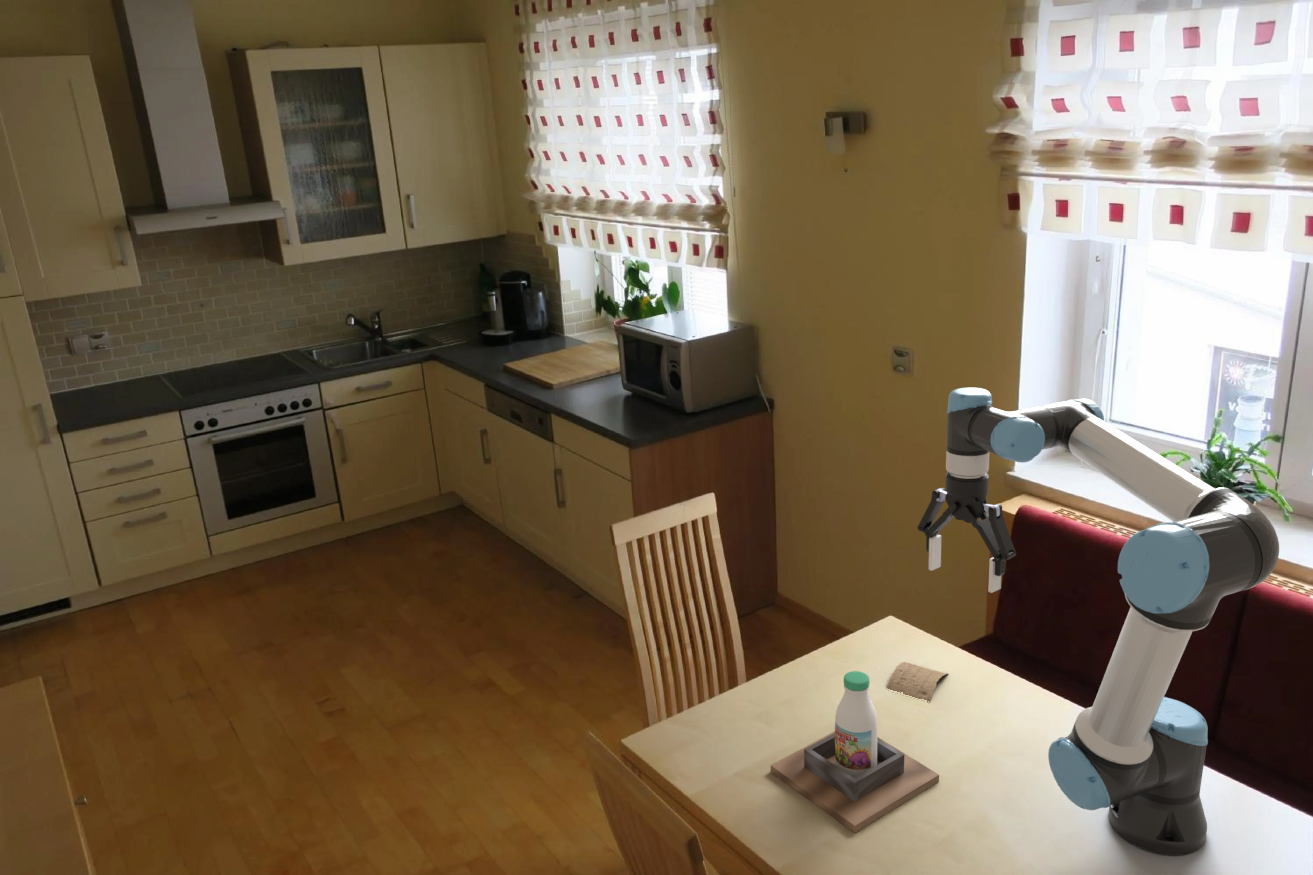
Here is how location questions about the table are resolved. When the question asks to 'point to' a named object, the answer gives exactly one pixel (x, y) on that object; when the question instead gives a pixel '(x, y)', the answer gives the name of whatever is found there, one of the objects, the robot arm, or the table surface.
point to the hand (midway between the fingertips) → (963, 579)
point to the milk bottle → (856, 727)
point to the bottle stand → (854, 781)
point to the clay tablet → (914, 680)
